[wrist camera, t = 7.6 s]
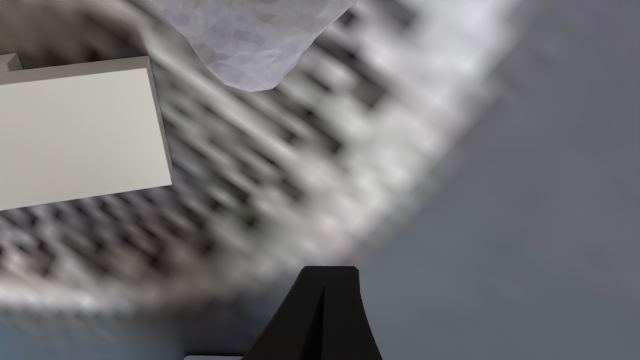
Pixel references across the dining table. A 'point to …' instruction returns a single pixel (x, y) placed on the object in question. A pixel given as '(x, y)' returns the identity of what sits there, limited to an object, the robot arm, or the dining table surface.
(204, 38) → the stone block
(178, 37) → the dining table surface
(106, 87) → the domino
